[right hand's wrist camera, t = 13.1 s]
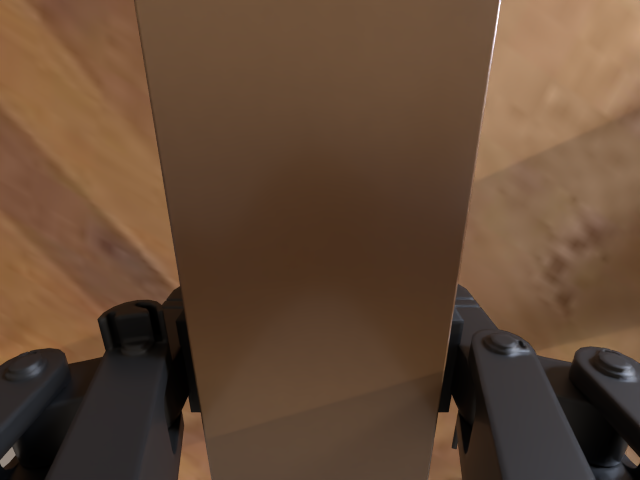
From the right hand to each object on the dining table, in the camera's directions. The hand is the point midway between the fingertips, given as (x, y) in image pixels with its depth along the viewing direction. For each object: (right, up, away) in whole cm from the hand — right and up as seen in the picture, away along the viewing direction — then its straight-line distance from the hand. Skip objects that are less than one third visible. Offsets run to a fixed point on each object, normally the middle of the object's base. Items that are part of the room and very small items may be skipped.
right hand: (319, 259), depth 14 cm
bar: (0, +21, -7) cm, 23 cm away
